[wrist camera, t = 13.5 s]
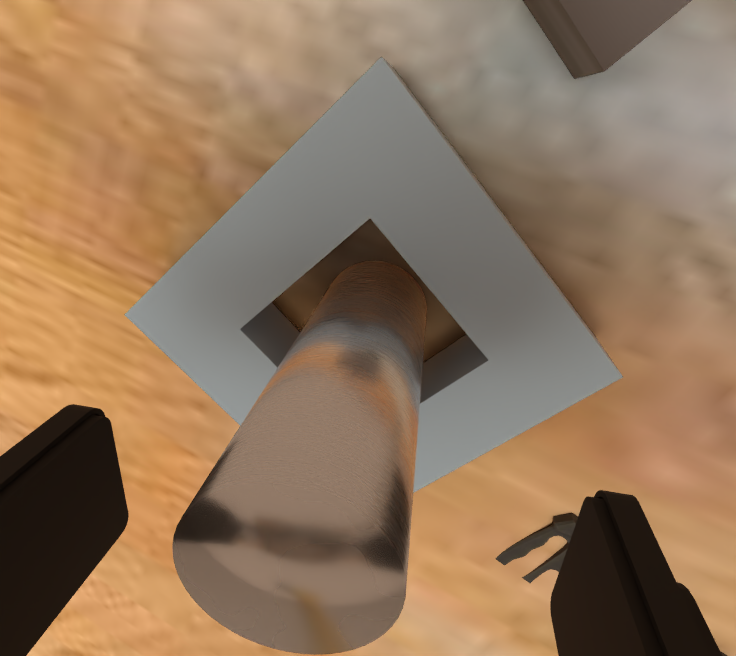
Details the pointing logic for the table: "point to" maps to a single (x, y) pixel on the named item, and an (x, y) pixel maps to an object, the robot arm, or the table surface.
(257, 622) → the grey brown cylinder
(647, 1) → the socket block
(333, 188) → the holder block
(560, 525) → the tactical pry bar
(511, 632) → the table surface
